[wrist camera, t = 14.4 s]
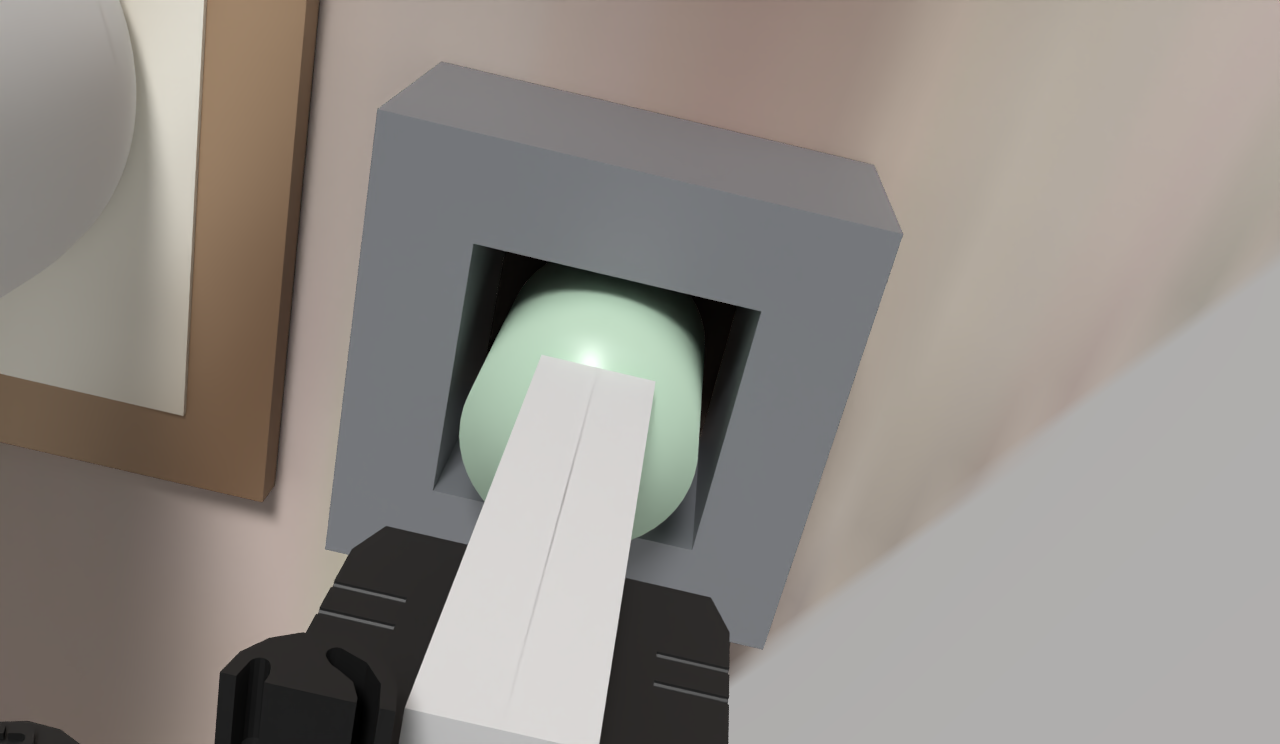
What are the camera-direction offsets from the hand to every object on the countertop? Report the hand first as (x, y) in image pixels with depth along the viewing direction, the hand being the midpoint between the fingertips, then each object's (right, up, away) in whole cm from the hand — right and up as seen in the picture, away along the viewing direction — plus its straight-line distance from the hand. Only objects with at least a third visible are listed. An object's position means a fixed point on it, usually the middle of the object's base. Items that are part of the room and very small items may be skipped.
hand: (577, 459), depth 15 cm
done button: (0, +2, +3) cm, 4 cm away
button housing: (0, +2, +4) cm, 5 cm away
